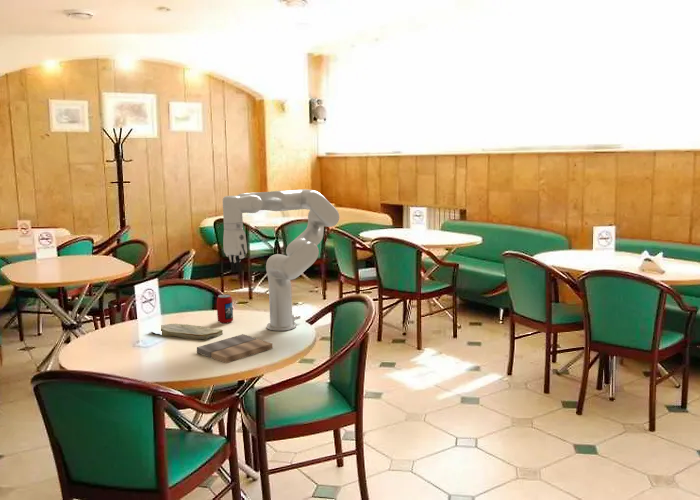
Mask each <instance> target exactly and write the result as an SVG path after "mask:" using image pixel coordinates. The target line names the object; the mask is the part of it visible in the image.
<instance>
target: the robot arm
mask: <svg viewBox="0 0 700 500" xmlns="http://www.w3.org/2000/svg"><path fill="white" fill-rule="evenodd" d="M297 210H299V211H300V210H307V211H308V215H307V226H306V228H305V229H304V230H303V231H302V232H301V233H300V234H299V235H298V236H297V237H295V238H294V240H292V241H290V243H288V245H287V246H286V248H285V249H286V250H285V254H280V253H276V254H273V255H270V256H269V258H267V260H266V263H265V264H266V265H265V270H266V275H267V280H268V298H269V299H268V300H269V323H267V324H266V328H267V329H268V330H270V331H276V332H281V331H283V332H284V331H289V330H290V331H291V330H293V329H295V328H296V327H297V323H296V322H295V321H296V320H299V319H301V315H300V314H296V315H294V314H293V305H292V304H293V301H292V300H293V299H292V297H293V296H292V283H291V281H292V280H295V279H296V278H297V279H298V277H300V276H301V275H302V274H303V273H304V272H305V271H307V269H309V268H310V267H312V265H313V264H314V263H315V262H316V261H317V259H318V258H319V252H320V251H319V247H318V245H319V244H320V243H321V242H322V240H323V238H324V231H325V230H324V229H325V227H326V228H327V227H328V228H331V227H334V226H336V225H338V223H339V220H340V213H339V211H338V210H337V208H336V207H335V206H334V205H333V204H332V203H331V202H330V201H329V200H328V199H327V198H326V197H325V196H324V195H323V194H321V192H319V191H317V190H314V189H305V188H304V189H302V188H301V189H293V190H292V189H290V190H289V189H288V190H287V189H285V190H274V191H273V190H271V191H261V192H246V193H245V192H242V193H239V194H237V195H225V196H224V197H222V212H223V213H222V215H223V218H222V219H223V237H222V239H223V242H222V243H223V244H222V245H223V253H224V254H225V256H226V257H227V258H228V259H229V262H230V269H231V271H230V272H231V273H238V272H241V266H240V265H241V263H240V262H241V260H242V259H244V258H245V255H247V253H248V245H247V236H246V232H245V230H244V223H243V222H244V220H243V219H244V217H243V214H246V213H247V214H256V213H258V212H260V211H270V212H285V211H297Z"/></svg>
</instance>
